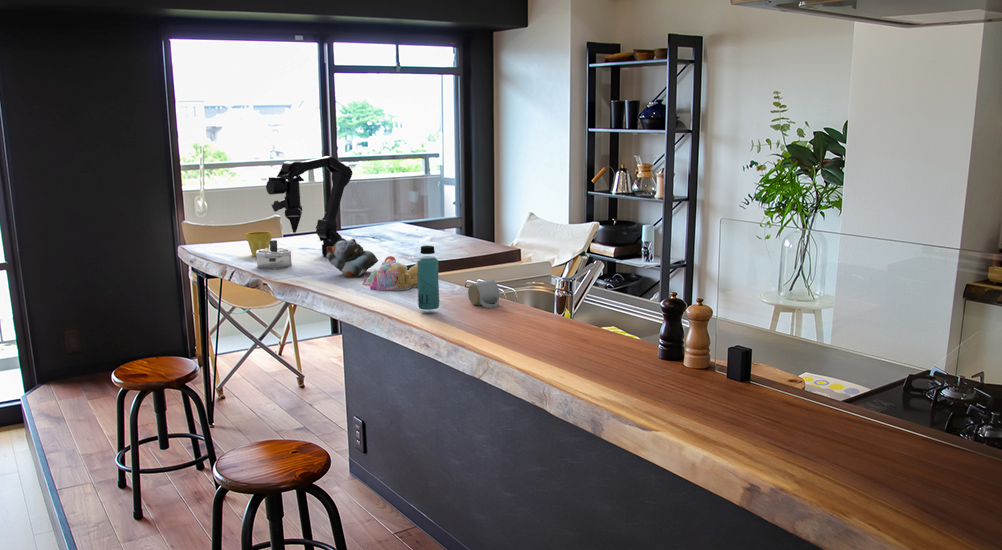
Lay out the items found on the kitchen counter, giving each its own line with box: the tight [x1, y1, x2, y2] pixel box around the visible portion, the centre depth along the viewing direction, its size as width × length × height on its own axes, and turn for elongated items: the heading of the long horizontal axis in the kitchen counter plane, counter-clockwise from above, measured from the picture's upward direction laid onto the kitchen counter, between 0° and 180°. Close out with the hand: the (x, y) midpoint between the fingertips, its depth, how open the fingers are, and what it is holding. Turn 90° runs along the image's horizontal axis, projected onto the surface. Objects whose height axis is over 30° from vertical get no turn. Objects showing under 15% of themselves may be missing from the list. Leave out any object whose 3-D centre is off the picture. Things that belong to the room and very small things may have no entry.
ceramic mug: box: [467, 279, 500, 309], centre depth 231 cm, size 10×8×7 cm
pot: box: [255, 247, 293, 270], centre depth 296 cm, size 13×19×6 cm
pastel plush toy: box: [361, 255, 418, 292], centre depth 262 cm, size 25×24×9 cm
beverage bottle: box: [416, 245, 440, 311], centre depth 220 cm, size 6×7×20 cm
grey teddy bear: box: [325, 237, 379, 279], centre depth 279 cm, size 17×14×16 cm
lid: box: [261, 239, 287, 253], centre depth 295 cm, size 10×10×5 cm
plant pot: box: [245, 230, 272, 257], centre depth 321 cm, size 10×10×10 cm
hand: (295, 231), depth 306 cm, fingers open, 9 cm apart
